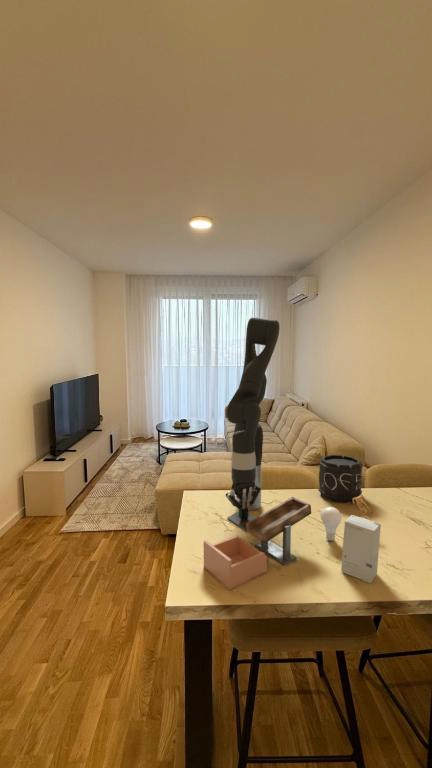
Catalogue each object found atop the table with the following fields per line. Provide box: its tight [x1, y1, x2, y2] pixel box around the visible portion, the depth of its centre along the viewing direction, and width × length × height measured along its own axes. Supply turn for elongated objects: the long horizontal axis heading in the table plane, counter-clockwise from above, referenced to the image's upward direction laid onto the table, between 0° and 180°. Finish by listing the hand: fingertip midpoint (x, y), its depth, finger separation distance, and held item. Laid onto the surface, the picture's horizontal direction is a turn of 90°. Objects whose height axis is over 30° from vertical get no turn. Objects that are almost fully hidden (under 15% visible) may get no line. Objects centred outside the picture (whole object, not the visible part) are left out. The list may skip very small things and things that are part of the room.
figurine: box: [352, 494, 372, 521], centre depth 125 cm, size 8×6×12 cm
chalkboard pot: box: [317, 454, 364, 504], centre depth 153 cm, size 18×18×16 cm
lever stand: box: [254, 513, 298, 567], centre depth 110 cm, size 5×13×10 cm, turn 35°
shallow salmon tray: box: [203, 535, 268, 591], centre depth 101 cm, size 12×13×8 cm
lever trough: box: [226, 496, 312, 543], centre depth 114 cm, size 20×18×3 cm
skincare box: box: [340, 514, 382, 584], centre depth 99 cm, size 8×6×15 cm
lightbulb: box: [320, 506, 342, 542], centre depth 117 cm, size 6×6×11 cm
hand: (243, 519), depth 114 cm, fingers closed
